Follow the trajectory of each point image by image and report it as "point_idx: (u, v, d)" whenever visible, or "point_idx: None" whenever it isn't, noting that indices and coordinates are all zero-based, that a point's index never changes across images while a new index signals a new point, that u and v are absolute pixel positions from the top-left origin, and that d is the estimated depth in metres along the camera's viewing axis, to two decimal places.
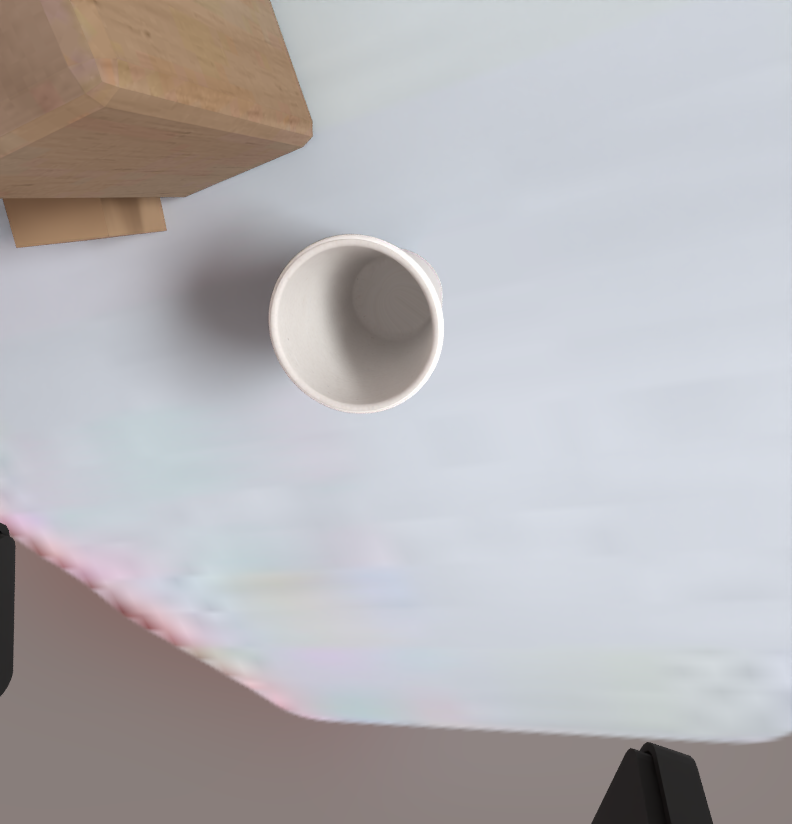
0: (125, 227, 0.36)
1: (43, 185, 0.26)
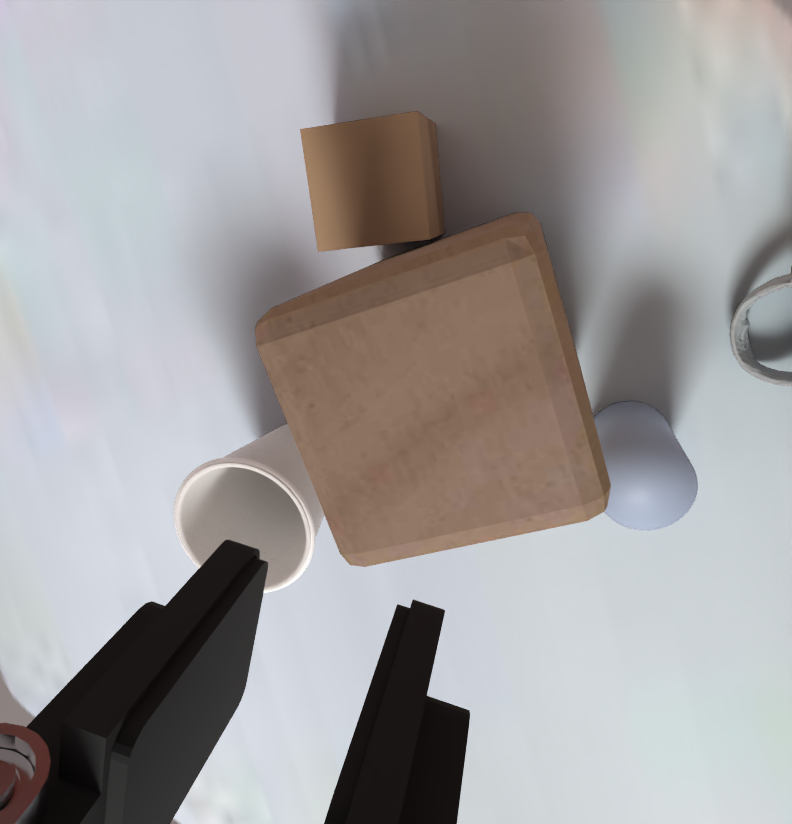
0: None
1: None
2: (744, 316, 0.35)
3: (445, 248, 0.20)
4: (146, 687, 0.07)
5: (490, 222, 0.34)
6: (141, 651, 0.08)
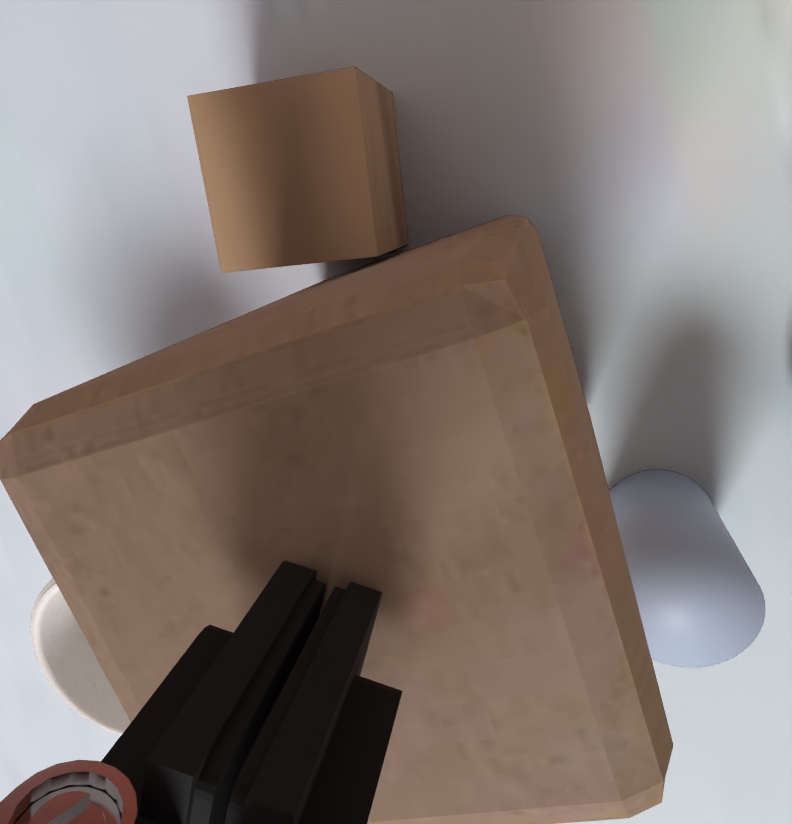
0: None
1: None
2: None
3: (344, 300, 0.10)
4: (226, 721, 0.07)
5: (467, 231, 0.24)
6: (215, 682, 0.07)
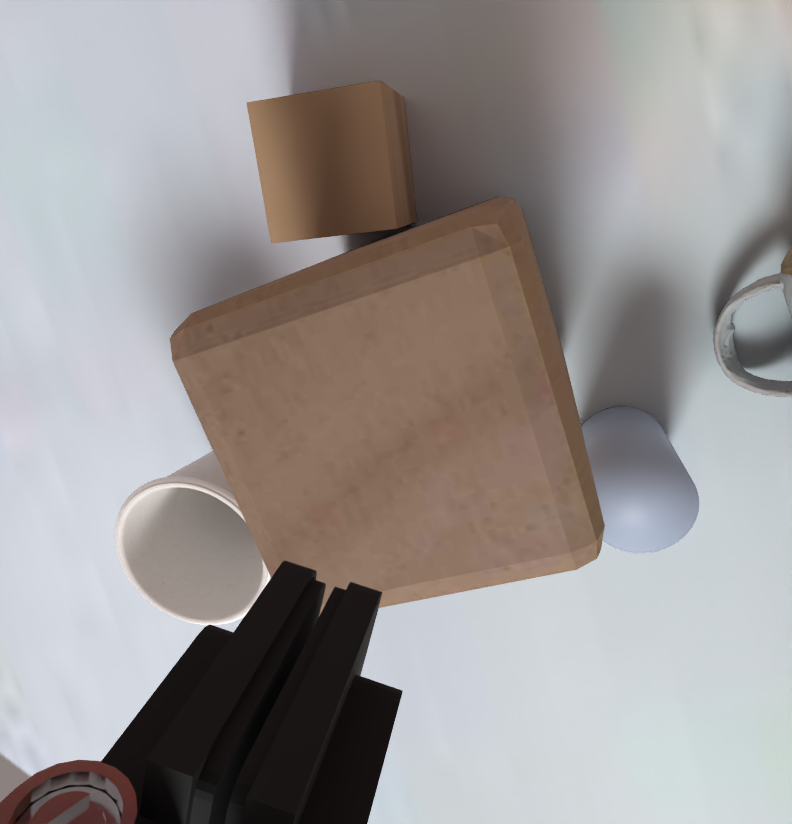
0: None
1: None
2: (729, 320, 0.32)
3: (399, 239, 0.16)
4: (226, 720, 0.07)
5: None
6: (215, 682, 0.07)
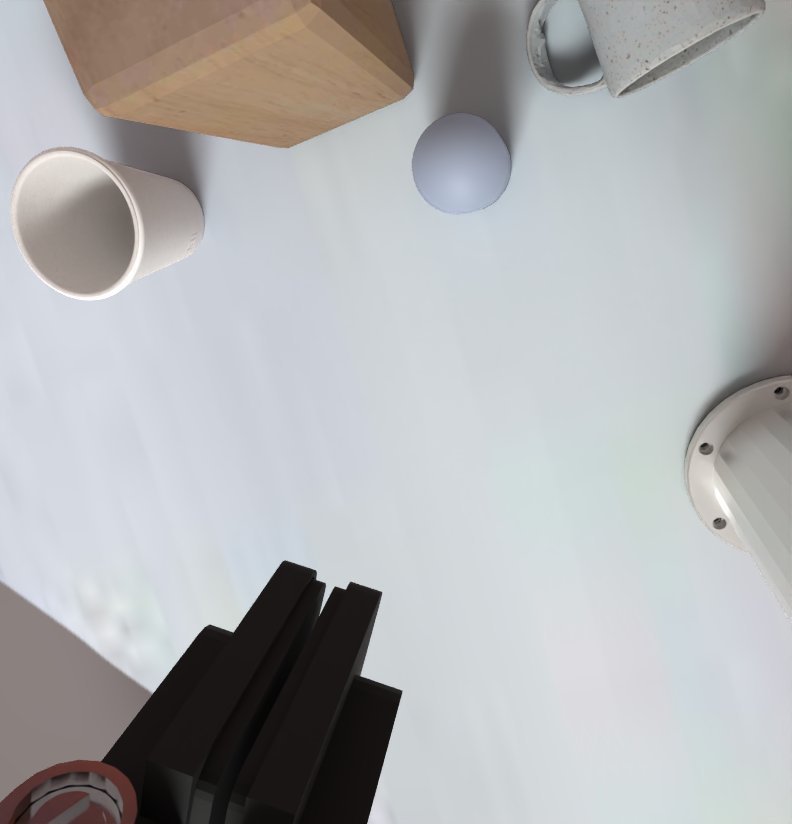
0: None
1: None
2: (537, 27, 0.36)
3: None
4: (226, 720, 0.07)
5: None
6: (215, 682, 0.07)
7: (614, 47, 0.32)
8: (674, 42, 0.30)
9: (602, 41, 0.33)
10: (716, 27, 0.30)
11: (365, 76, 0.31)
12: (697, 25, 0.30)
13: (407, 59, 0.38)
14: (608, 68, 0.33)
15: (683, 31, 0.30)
